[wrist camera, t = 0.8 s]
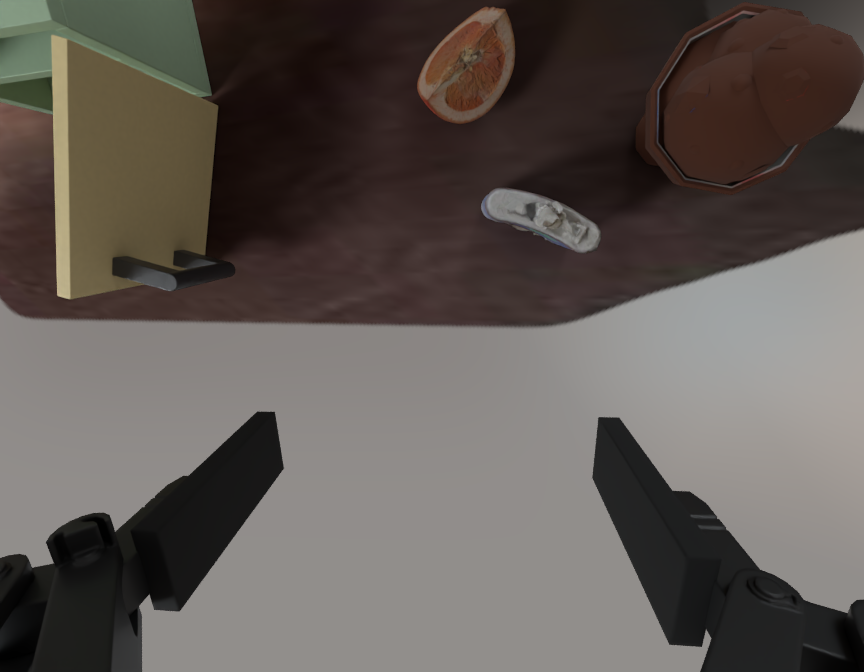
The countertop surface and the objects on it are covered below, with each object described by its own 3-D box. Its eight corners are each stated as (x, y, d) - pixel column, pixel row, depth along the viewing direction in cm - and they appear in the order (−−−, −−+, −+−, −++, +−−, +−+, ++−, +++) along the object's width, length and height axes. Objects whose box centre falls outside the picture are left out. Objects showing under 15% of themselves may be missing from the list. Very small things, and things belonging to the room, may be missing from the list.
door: (272, 120, 37) (152, 62, 23) (251, 285, 42) (141, 319, 28) (208, 102, 37) (50, 34, 23) (194, 269, 42) (56, 296, 28)
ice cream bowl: (683, 29, 33) (851, -119, 18) (761, 136, 34) (971, 78, 20) (577, 130, 35) (651, 70, 21) (653, 225, 37) (771, 230, 23)
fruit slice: (476, 8, 33) (477, -27, 29) (529, 72, 34) (539, 48, 30) (406, 89, 36) (397, 69, 31) (458, 147, 37) (457, 137, 32)
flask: (477, 214, 38) (480, 213, 28) (489, 184, 37) (497, 170, 27) (566, 250, 38) (603, 261, 28) (581, 220, 37) (623, 221, 27)
